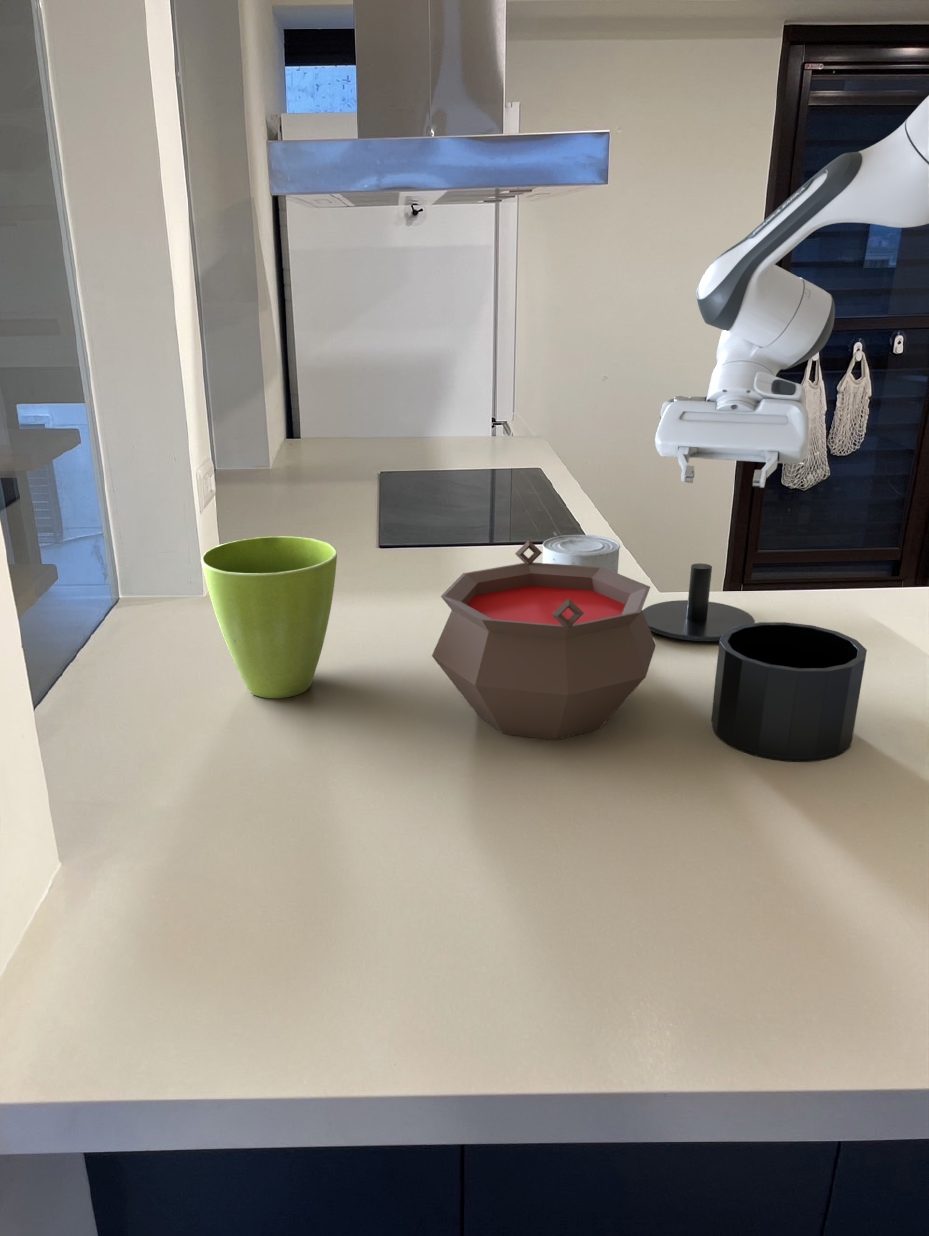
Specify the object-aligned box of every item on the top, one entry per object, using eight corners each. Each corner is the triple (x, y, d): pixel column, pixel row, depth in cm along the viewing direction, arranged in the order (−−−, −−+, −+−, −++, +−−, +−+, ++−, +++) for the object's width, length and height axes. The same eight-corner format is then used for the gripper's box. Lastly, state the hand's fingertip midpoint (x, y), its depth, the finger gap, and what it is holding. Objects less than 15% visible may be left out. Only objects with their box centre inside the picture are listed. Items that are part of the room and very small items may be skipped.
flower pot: (366, 693, 115) (360, 558, 109) (244, 724, 109) (230, 581, 102) (310, 654, 127) (302, 529, 121) (197, 679, 120) (182, 549, 114)
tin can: (614, 626, 134) (619, 535, 129) (614, 652, 125) (620, 555, 121) (542, 623, 136) (544, 533, 131) (537, 648, 127) (540, 553, 122)
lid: (738, 607, 140) (744, 550, 136) (767, 645, 126) (775, 582, 123) (631, 608, 140) (635, 551, 137) (649, 646, 127) (653, 583, 124)
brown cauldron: (686, 755, 100) (700, 597, 93) (443, 768, 98) (441, 608, 92) (622, 665, 122) (631, 531, 115) (424, 674, 120) (421, 540, 114)
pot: (826, 704, 110) (838, 621, 106) (872, 762, 97) (888, 670, 94) (699, 704, 111) (707, 622, 107) (729, 761, 98) (739, 671, 94)
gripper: (662, 381, 143) (643, 464, 138) (817, 386, 135) (801, 473, 131) (666, 409, 148) (647, 490, 144) (814, 415, 140) (799, 500, 136)
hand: (722, 482), depth 137 cm, fingers open, 8 cm apart
